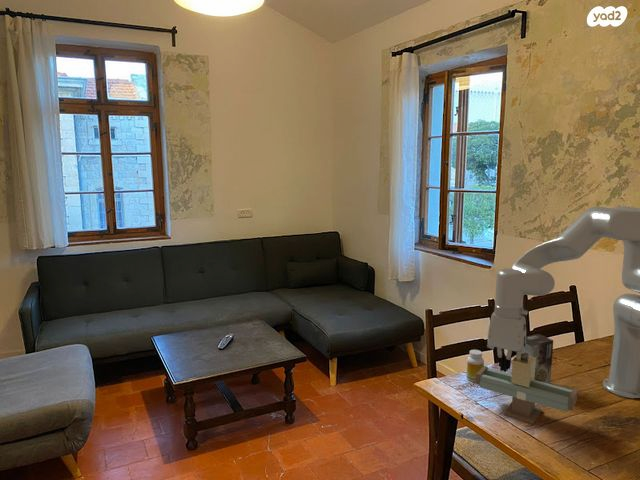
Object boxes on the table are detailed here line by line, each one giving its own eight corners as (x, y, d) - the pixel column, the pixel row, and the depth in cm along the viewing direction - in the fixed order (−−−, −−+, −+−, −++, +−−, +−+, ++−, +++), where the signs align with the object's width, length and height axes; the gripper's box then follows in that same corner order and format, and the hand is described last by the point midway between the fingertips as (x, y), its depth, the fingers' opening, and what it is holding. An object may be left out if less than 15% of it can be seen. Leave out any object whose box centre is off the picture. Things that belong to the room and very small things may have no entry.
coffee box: (535, 378, 164) (538, 333, 161) (550, 386, 158) (554, 339, 155) (514, 383, 161) (517, 337, 158) (530, 391, 155) (533, 344, 152)
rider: (534, 384, 142) (536, 352, 140) (528, 392, 138) (531, 359, 136) (516, 380, 145) (518, 348, 143) (510, 387, 140) (512, 355, 139)
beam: (575, 420, 138) (578, 388, 136) (569, 435, 131) (572, 401, 129) (483, 393, 154) (485, 364, 152) (473, 405, 147) (475, 375, 145)
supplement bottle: (483, 383, 161) (485, 355, 159) (467, 381, 162) (468, 354, 160) (481, 375, 166) (483, 349, 164) (465, 374, 167) (466, 348, 165)
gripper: (538, 312, 139) (534, 371, 142) (486, 303, 148) (483, 359, 151) (532, 320, 133) (527, 381, 137) (478, 309, 142) (475, 367, 145)
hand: (504, 369), depth 144 cm, fingers closed
